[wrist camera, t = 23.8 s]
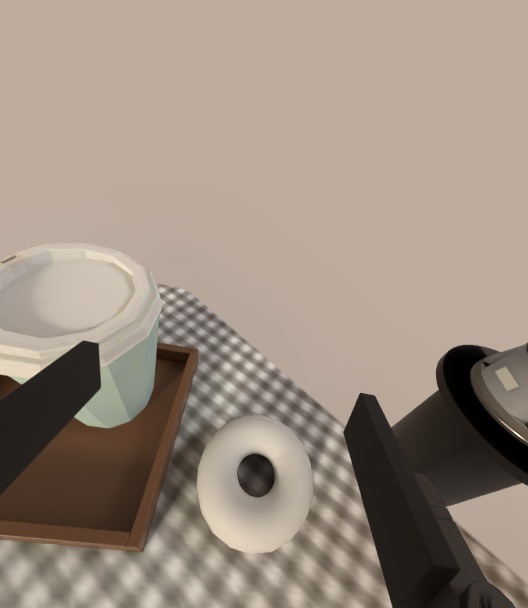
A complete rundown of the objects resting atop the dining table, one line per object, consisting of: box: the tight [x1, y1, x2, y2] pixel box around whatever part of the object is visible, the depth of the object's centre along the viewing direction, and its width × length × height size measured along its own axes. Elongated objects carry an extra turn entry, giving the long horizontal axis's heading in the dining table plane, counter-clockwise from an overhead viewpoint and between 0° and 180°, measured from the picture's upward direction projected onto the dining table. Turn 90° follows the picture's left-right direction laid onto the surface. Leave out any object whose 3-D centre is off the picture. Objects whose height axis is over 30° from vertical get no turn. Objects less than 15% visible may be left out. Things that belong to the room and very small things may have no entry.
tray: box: [0, 343, 198, 552], centre depth 23 cm, size 19×17×3 cm
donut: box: [197, 415, 313, 554], centre depth 22 cm, size 10×3×10 cm
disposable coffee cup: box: [0, 243, 163, 428], centre depth 21 cm, size 11×11×15 cm
